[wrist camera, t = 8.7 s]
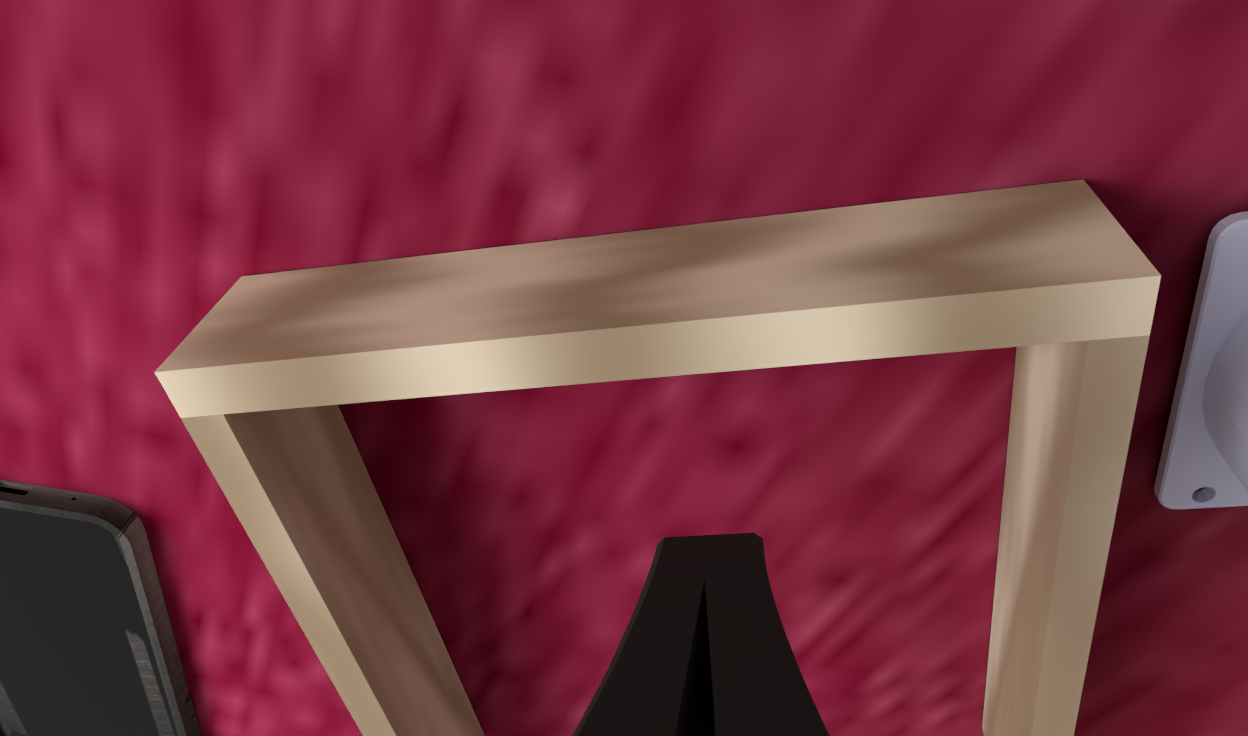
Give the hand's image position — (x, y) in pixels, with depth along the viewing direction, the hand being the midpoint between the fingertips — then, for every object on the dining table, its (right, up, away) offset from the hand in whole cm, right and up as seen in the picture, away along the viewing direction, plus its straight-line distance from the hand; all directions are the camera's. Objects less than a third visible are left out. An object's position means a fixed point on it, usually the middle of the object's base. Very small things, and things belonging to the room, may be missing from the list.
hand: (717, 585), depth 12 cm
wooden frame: (0, -2, +13) cm, 13 cm away
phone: (-21, -6, +19) cm, 29 cm away
